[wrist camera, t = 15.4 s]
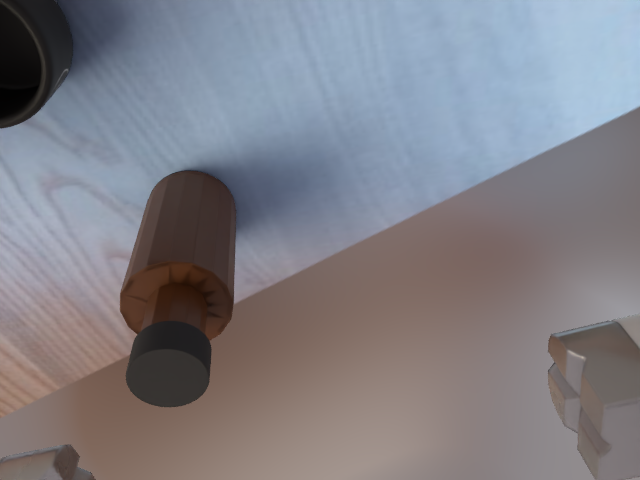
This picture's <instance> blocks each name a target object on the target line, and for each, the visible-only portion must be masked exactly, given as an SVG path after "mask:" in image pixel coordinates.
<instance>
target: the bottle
mask: <svg viewBox="0 0 640 480" xmlns="http://www.w3.org/2000/svg"><path fill="white" fill-rule="evenodd" d="M235 239H236V206H235V201H234V198H233V196H232V194H231V192H230V191H229V189H228V188H227V187H226V186H225V185H224V184H223V183H222V182H221V181H220V180H218V179H217V178H215V177H213V176H211V175H209V174H206V173H203V172H198V171H181V172H177V173H173V174H171V175H169V176H167V177H165V178H163V179H162V180H161V181H160V182H158V184H157V185H156V186H155V187H154V189H153V190H152V192H151V194H150V197H149V199H148V201H147V205H146V208H145V211H144V215H143V218H142V222H141V225H140V228H139V232H138V235H137V239H136V242H135V245H134V249H133V252H132V256H131V259H130V262H129V266H128V269H127V272H126V276H125V279H124V283H123V286H122V289H121V293H120V312H121V314H122V315H123V317H124V319H125V321H126V323H127V325H128V327H129V328H130V329H132V330H133V331H134V332H135V333H136V334H139V333H140V332H141V331H142V330H143V329H144V328H146V327H147V326H149V325H151V324H154V323H157V322H162V321H180V322H184V323H188V324H190V325H193V326H195V327H196V328H198V329H199V330H201V331H202V332H203V333H204V334H205V335H206V337H207V338H208V340H209V341H210V340H211V339H213V338H215V337H216V336H218V335H219V334H221V332H222V331H223V330H224V328H225V327H226V326H227V324H228V323H229V322H230V320H231V317H232V310H233V303H234V272H235Z"/></svg>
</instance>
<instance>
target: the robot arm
mask: <svg viewBox="0 0 640 480" xmlns="http://www.w3.org/2000/svg"><path fill="white" fill-rule="evenodd" d="M548 352H549V353H550V355H551V357H552V358H553V360H554V364H553V365H552V366H551V367H550V369H549V370H548V382H549V383H548V384H549V389H550V393H551V397H552V401H553V403H554V406H555V408H556V411H557V413H558V415H559V417H560V419H561V420H562V422H563V424H564V426H566V427H567V428H569V429H571V430H572V431H574V432H576V433H578V445H577V448H578V451H579V453H580V454H581V456H582V458H583V460H584V461H585V463H586V465H587V466H588V468H589V470H590V472H591V473H592V475H593V477H594V479H595V480H625V479H631V478H636V477H640V314H636V315H632V316H627V317H623V318H619V319H614V320H612V321H605V322H601V323H596V324H593V325H588V326H584V327H579V328H575V329H571V330H567V331H563V332H559V333H554V334H551V336H550V338H549V345H548ZM79 458H80V456H79V455H78V453H77V452H76V451H75V450H74V448H73V447H72V446H71V445H60V446H55V447H50V448H45V449H40V450H35V451H29V452H24V453H19V454H14V455H9V456H6V457H2V458H0V480H96V479H95V478H94V476H93V475H92V473H91V472H88V471H86V470H84V469H81V468H79V467H77V466H78V462H79Z"/></svg>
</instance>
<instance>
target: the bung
mask: <svg viewBox="0 0 640 480" xmlns="http://www.w3.org/2000/svg"><path fill="white" fill-rule="evenodd" d="M210 364H211V345H210V342H209V340H208V338H207V337H206V335H205V334H204V333H203V332H202V331H201V330H199V329H198V328H196V327H195V326H193V325H190V324H188V323H184V322H180V321H162V322H157V323H154V324H151V325H149V326H147V327H146V328H144V329H143V330H142V331H141V332H140V333H139V334H138V335H137V336H136V338H135V340H134V342H133V346H132V350H131V355H130V359H129V363H128V367H127V371H126V381H127V385H128V387H129V389H130V390H131V392H132V393H133V394H134V395H135V396H136V397H137V398H139V399H140V400H142V401H144V402H146V403H149V404H151V405H155V406H160V407H178V406H183V405H186V404H189V403H191V402H193V401H195V400H197V399H198V398H199V397H200V396H201V395H203V393H204V392H205V391H206V389H207V387H208V384H209V377H210Z"/></svg>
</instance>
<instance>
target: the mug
mask: <svg viewBox="0 0 640 480" xmlns="http://www.w3.org/2000/svg"><path fill="white" fill-rule="evenodd" d="M72 56H73V42H72V35H71V32H70V28H69V25H68V23H67V20H66V18H65V16H64V14H63V12H62V10H61V8H60V7H59V5H58V4H57V3H56V1H55V0H0V128H6V127H11V126H14V125H17V124H20V123H22V122H24V121H26V120H28V119H29V118H31V117H32V116H33V115H35V114H36V113H37V112H38V111H39V110H40V109H41V108H42V107H43V106H44V105H45V103H46V102H47V101H48V100H49V98H50V97H51V96H52V95H53V94H54V93H55V91H56V90H57V89H58V88H59V87H60V85H61V84H62V83H63V81H64V80H65V78H66V76H67V74H68V72H69V69H70V66H71V62H72Z"/></svg>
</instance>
